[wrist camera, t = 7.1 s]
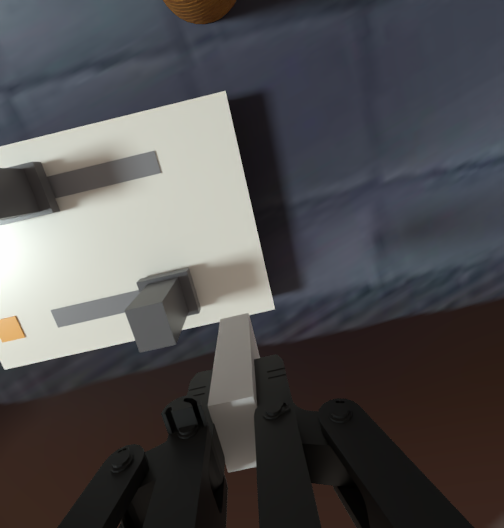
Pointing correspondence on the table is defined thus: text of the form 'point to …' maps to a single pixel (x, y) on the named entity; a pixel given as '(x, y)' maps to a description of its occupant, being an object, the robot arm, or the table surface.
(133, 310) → the block
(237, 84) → the table surface
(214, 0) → the disposable coffee cup
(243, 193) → the panel
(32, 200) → the block
